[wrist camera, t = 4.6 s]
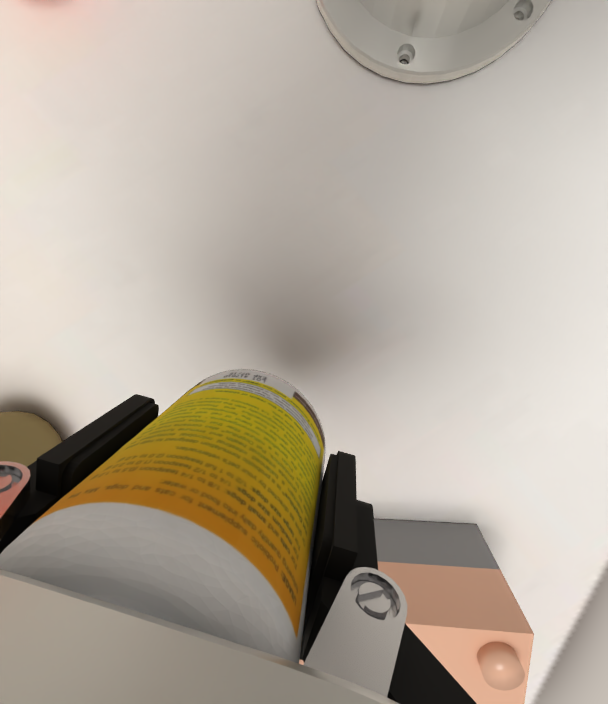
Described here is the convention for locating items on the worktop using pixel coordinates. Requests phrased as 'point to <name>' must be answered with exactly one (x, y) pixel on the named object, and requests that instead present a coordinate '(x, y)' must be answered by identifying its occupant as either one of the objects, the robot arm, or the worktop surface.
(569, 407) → the worktop surface
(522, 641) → the pink and grey block
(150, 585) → the supplement bottle
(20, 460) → the squeeze bottle
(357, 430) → the worktop surface
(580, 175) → the worktop surface
